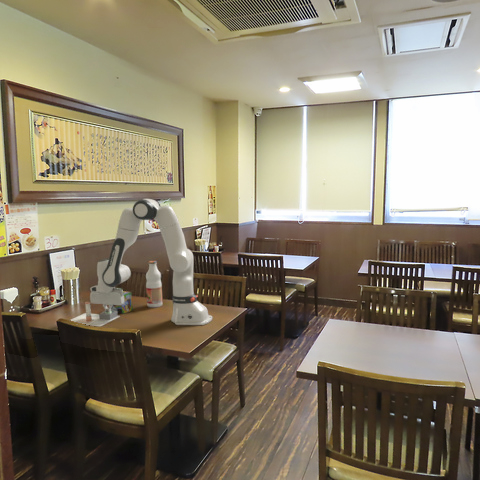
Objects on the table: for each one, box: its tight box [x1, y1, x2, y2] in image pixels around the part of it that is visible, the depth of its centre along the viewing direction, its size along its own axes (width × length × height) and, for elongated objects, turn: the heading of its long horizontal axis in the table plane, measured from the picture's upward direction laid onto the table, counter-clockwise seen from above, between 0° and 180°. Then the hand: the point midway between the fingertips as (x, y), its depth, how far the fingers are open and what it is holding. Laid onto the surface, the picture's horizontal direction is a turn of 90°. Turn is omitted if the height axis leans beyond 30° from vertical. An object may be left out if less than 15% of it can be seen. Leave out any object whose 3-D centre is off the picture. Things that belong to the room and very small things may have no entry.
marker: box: [84, 300, 92, 321], centre depth 213 cm, size 3×3×10 cm
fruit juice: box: [145, 260, 163, 308], centre depth 241 cm, size 9×9×28 cm
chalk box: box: [111, 287, 134, 315], centre depth 230 cm, size 9×9×15 cm
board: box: [70, 310, 121, 327], centre depth 216 cm, size 24×18×4 cm
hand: (108, 311), depth 218 cm, fingers closed, pressing on done button
